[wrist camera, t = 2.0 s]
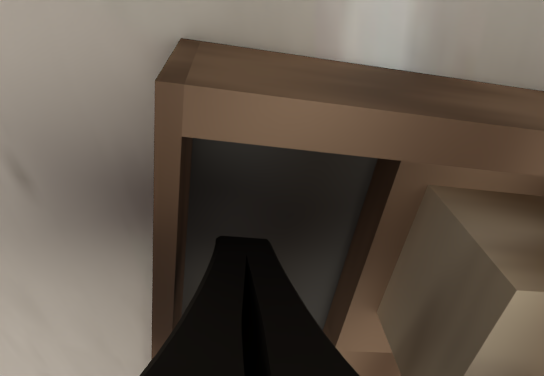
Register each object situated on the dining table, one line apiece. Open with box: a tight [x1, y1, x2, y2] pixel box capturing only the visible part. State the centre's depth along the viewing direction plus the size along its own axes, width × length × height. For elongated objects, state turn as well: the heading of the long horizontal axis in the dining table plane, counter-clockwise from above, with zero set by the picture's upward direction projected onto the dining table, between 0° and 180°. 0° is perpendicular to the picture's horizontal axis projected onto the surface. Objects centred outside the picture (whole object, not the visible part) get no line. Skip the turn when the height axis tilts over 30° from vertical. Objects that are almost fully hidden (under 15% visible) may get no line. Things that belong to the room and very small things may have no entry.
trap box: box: [152, 38, 544, 376], centre depth 15 cm, size 26×17×4 cm, turn 81°
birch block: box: [377, 185, 544, 376], centre depth 11 cm, size 5×5×4 cm
